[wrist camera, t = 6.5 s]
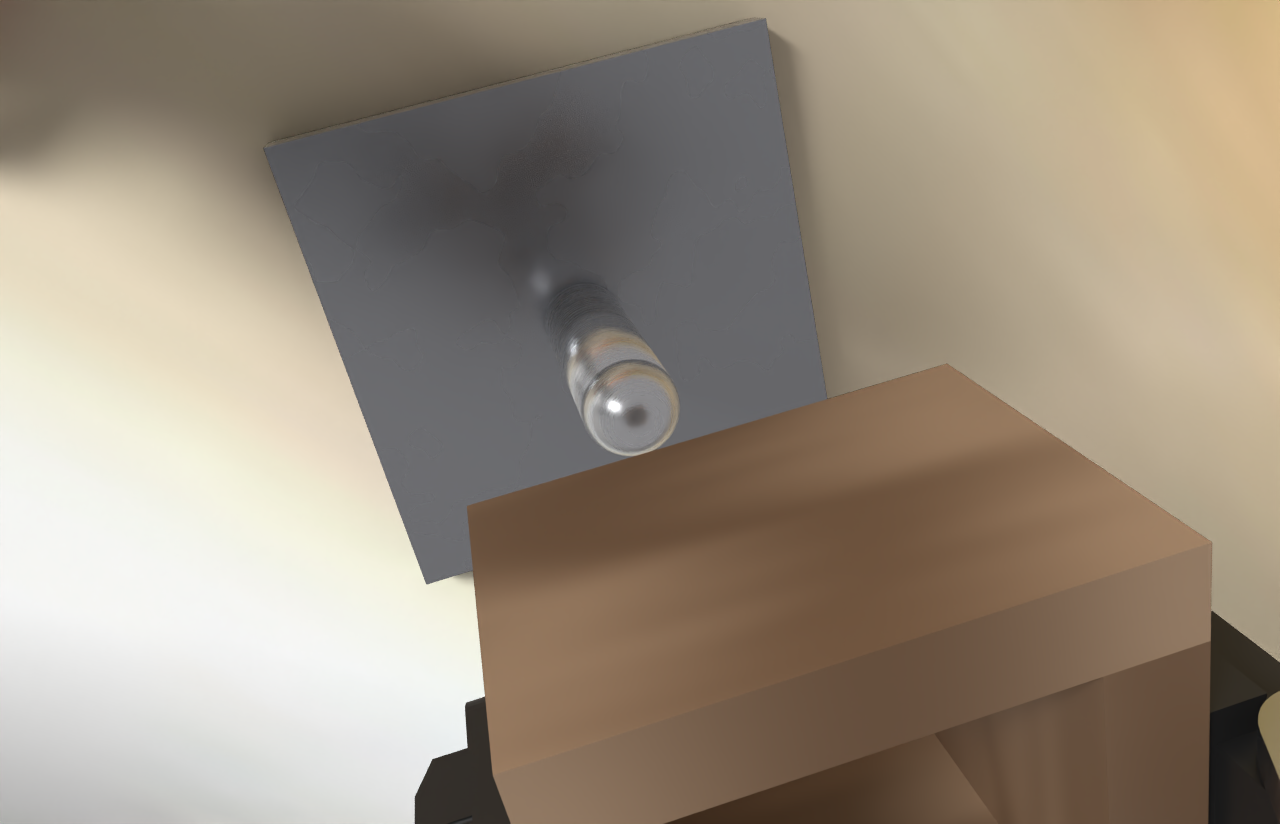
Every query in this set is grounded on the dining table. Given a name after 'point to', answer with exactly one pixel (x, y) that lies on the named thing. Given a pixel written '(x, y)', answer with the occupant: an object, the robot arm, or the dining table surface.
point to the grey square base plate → (559, 271)
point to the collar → (847, 627)
